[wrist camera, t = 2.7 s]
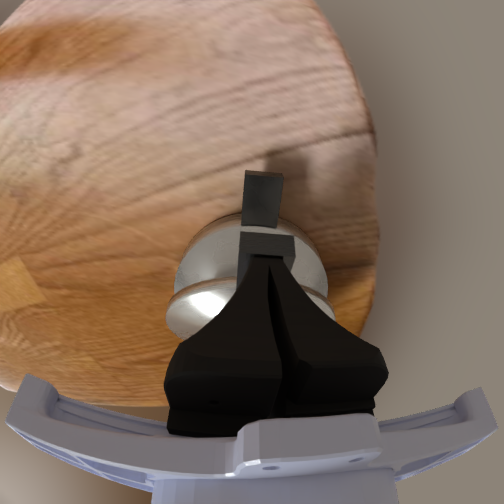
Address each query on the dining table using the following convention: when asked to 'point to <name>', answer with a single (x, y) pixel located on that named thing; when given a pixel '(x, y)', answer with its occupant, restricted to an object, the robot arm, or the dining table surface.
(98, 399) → the dining table surface
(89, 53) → the dining table surface
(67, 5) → the dining table surface
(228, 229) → the pot
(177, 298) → the lid
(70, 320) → the dining table surface
